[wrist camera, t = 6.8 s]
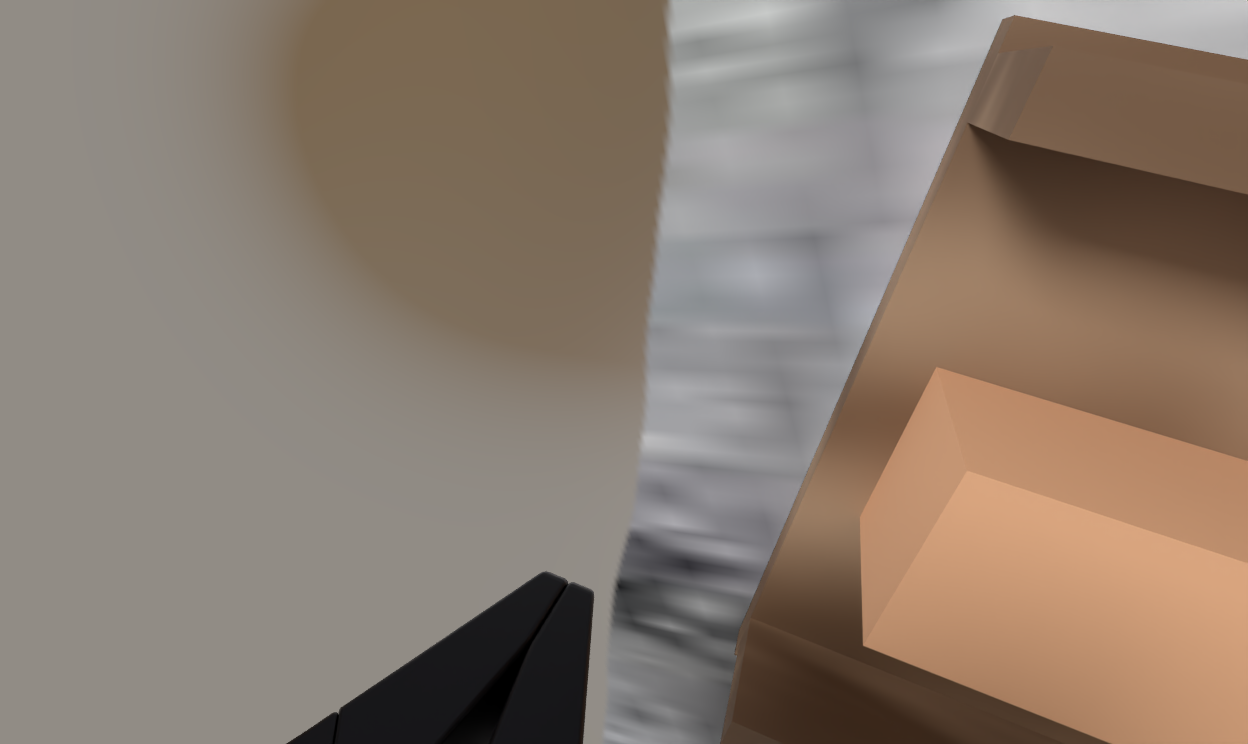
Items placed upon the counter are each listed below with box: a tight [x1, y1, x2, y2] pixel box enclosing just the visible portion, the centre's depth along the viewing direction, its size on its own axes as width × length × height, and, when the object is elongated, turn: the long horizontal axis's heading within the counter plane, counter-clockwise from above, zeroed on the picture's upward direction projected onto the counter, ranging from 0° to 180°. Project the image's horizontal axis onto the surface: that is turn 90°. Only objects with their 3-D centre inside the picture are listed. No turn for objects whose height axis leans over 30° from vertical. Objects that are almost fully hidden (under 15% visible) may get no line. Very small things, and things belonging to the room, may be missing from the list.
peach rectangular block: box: [860, 367, 1248, 744], centre depth 12 cm, size 5×9×4 cm, turn 79°
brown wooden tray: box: [720, 15, 1248, 744], centre depth 13 cm, size 18×15×4 cm
